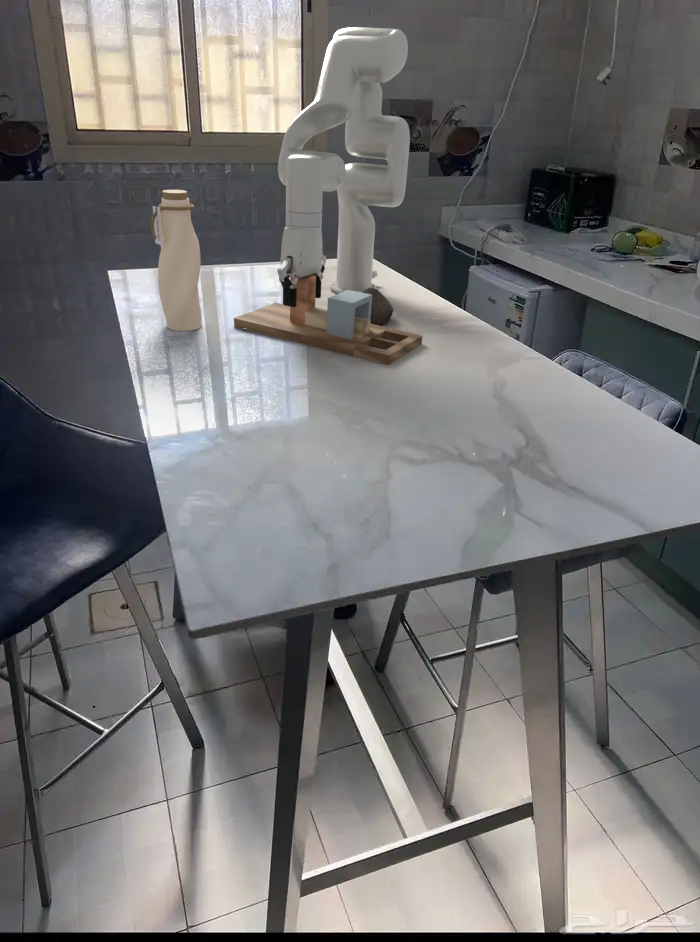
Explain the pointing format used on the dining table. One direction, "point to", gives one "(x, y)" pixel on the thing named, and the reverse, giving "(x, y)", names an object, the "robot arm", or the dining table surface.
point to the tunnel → (347, 312)
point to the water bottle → (177, 261)
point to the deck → (372, 346)
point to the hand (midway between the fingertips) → (302, 301)
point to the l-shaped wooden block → (316, 316)
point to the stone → (379, 307)
